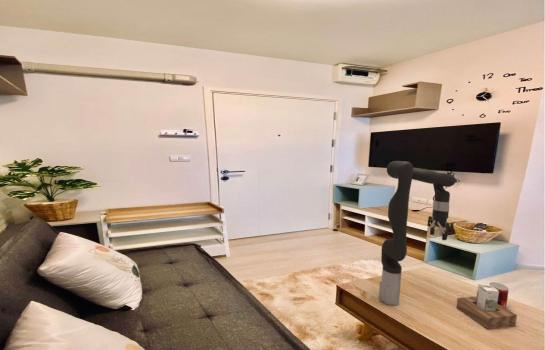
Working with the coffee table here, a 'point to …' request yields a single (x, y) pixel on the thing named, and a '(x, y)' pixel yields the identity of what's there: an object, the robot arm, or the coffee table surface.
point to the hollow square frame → (486, 314)
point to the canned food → (501, 293)
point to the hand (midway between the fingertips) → (437, 237)
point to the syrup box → (487, 297)
